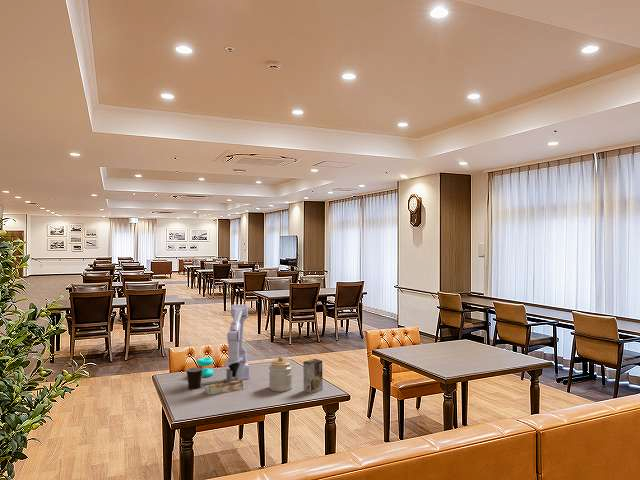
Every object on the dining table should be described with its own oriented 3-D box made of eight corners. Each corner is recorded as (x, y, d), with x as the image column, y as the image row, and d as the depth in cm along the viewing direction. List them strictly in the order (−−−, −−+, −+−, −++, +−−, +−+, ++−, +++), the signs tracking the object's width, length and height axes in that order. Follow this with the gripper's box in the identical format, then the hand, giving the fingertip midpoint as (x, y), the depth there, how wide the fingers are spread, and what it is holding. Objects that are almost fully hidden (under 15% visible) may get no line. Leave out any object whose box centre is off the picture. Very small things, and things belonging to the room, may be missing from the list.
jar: (276, 383, 265) (276, 352, 265) (296, 386, 259) (296, 355, 259) (264, 390, 253) (264, 358, 253) (284, 393, 247) (284, 360, 247)
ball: (214, 391, 252) (217, 385, 253) (216, 392, 249) (219, 386, 250) (209, 389, 250) (212, 382, 251) (211, 390, 247) (214, 384, 248)
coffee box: (314, 387, 258) (314, 358, 258) (322, 389, 254) (322, 360, 254) (302, 390, 252) (302, 361, 252) (311, 393, 247) (310, 363, 247)
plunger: (228, 381, 257) (228, 368, 257) (232, 384, 253) (232, 370, 253) (223, 382, 256) (223, 369, 256) (227, 385, 251) (227, 371, 251)
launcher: (236, 384, 262) (236, 377, 262) (243, 389, 255) (243, 381, 255) (215, 388, 255) (215, 381, 255) (221, 393, 247) (221, 385, 248)
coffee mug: (198, 390, 253) (198, 372, 253) (183, 389, 254) (183, 371, 254) (207, 383, 264) (207, 366, 264) (193, 382, 266) (193, 365, 266)
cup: (216, 389, 254) (216, 383, 254) (221, 392, 248) (221, 387, 248) (204, 391, 250) (204, 386, 250) (209, 395, 245) (209, 389, 245)
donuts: (193, 359, 279) (205, 356, 288) (193, 376, 279) (205, 372, 288) (204, 362, 274) (216, 358, 283) (204, 378, 274) (216, 374, 283)
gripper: (236, 348, 264) (236, 372, 264) (219, 354, 252) (219, 379, 252) (246, 350, 261) (246, 374, 261) (229, 355, 248) (229, 380, 248)
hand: (233, 376), depth 256 cm, fingers closed
